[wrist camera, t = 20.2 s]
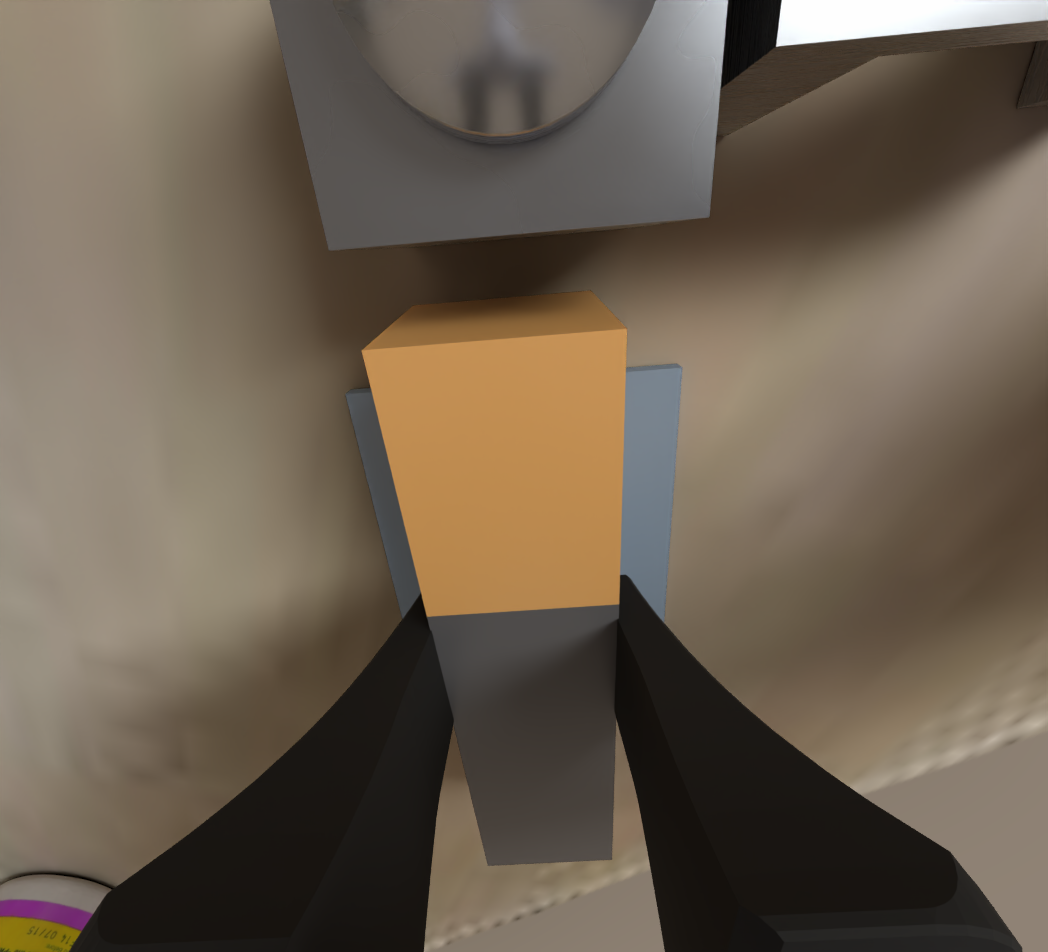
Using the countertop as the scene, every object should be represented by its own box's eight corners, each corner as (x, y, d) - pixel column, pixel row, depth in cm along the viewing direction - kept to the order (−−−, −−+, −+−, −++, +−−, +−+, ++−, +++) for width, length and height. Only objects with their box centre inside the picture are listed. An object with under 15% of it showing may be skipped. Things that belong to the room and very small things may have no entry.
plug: (590, 290, 9) (627, 328, 6) (594, 738, 17) (612, 859, 14) (413, 305, 10) (361, 351, 6) (493, 743, 17) (487, 865, 14)
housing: (1195, -169, 8) (2504, -967, 3) (1061, 190, 10) (1629, 134, 5) (359, -80, 8) (88, -622, 3) (412, 246, 10) (309, 251, 5)
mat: (676, 363, 11) (681, 367, 11) (657, 661, 16) (660, 670, 15) (350, 389, 12) (345, 393, 11) (421, 675, 16) (419, 685, 16)
